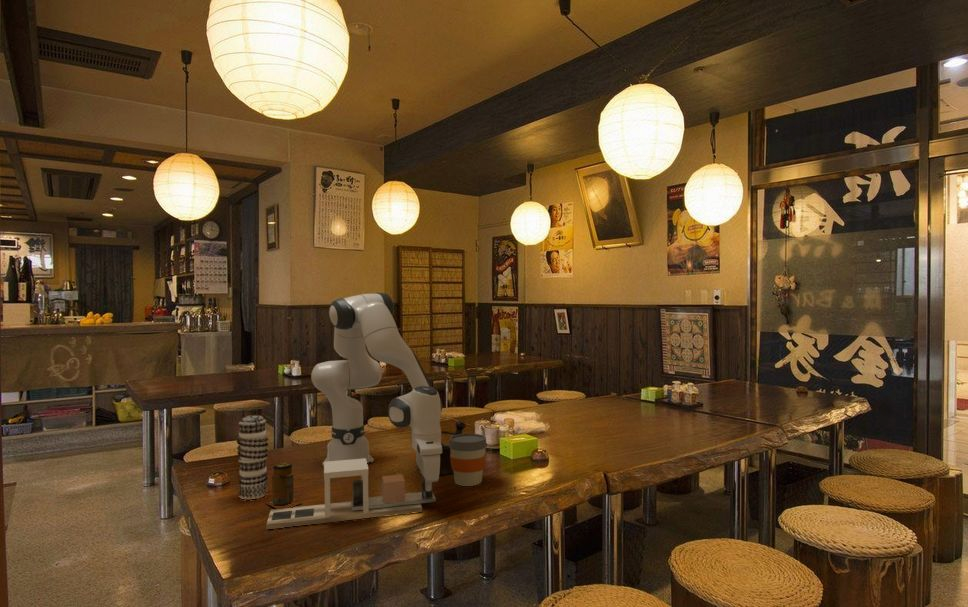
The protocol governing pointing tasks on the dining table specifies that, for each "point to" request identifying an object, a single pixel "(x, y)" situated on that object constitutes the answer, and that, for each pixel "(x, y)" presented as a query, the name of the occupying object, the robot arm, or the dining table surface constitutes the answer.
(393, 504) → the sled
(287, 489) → the condiment
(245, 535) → the dining table surface
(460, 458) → the reusable coffee cup
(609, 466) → the dining table surface
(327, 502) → the tunnel
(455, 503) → the dining table surface
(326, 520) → the track
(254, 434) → the round tower model
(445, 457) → the black coffee grinder
